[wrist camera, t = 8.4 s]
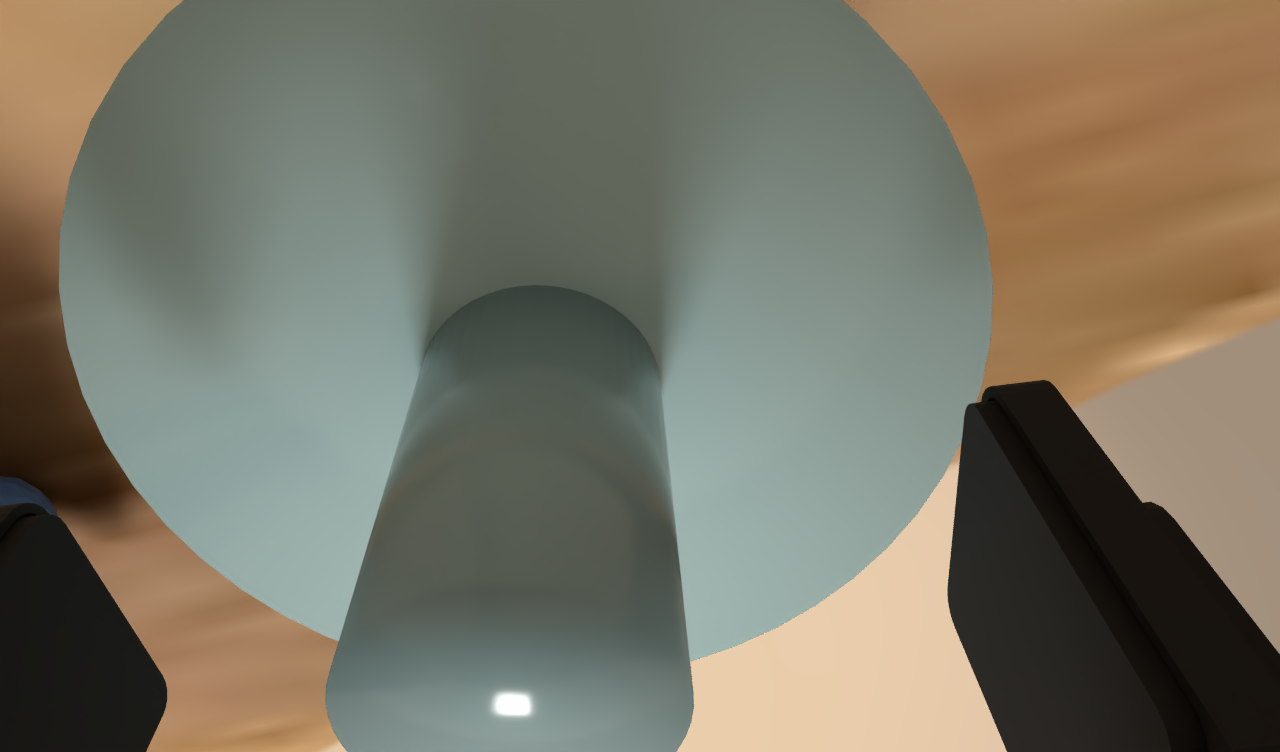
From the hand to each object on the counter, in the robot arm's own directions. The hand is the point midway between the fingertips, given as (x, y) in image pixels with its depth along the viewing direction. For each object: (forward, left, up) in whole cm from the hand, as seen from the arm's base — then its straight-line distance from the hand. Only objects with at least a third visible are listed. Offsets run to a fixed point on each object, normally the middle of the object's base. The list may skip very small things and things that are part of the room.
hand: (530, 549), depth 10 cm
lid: (0, 0, -4) cm, 4 cm away
